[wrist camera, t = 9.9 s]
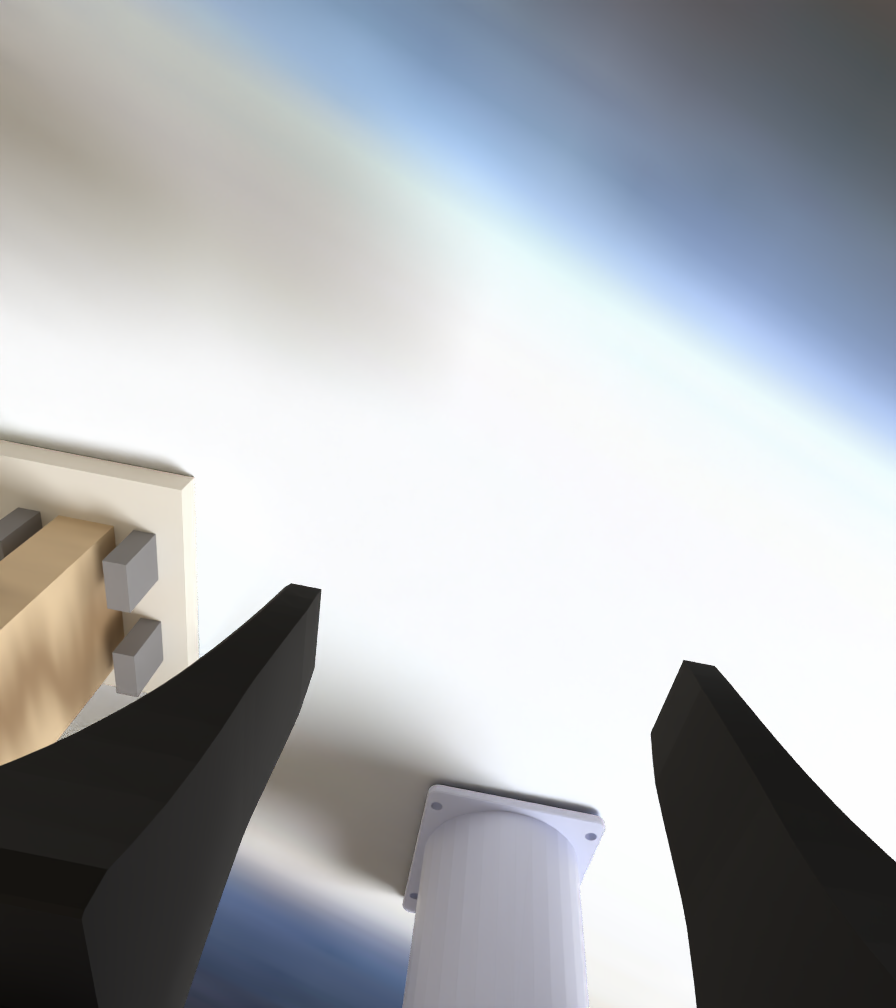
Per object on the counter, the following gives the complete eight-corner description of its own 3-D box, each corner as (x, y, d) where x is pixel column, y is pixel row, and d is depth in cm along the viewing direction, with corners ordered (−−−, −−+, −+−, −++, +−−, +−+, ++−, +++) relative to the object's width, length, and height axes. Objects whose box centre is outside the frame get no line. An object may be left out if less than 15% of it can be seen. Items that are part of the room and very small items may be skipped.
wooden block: (126, 653, 26) (-20, 836, 19) (77, 643, 26) (-86, 823, 19) (113, 525, 23) (-63, 687, 16) (58, 515, 23) (-142, 672, 16)
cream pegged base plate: (199, 683, 28) (166, 739, 25) (39, 652, 28) (-11, 704, 25) (194, 477, 23) (152, 519, 20) (1, 440, 23) (-66, 476, 21)
